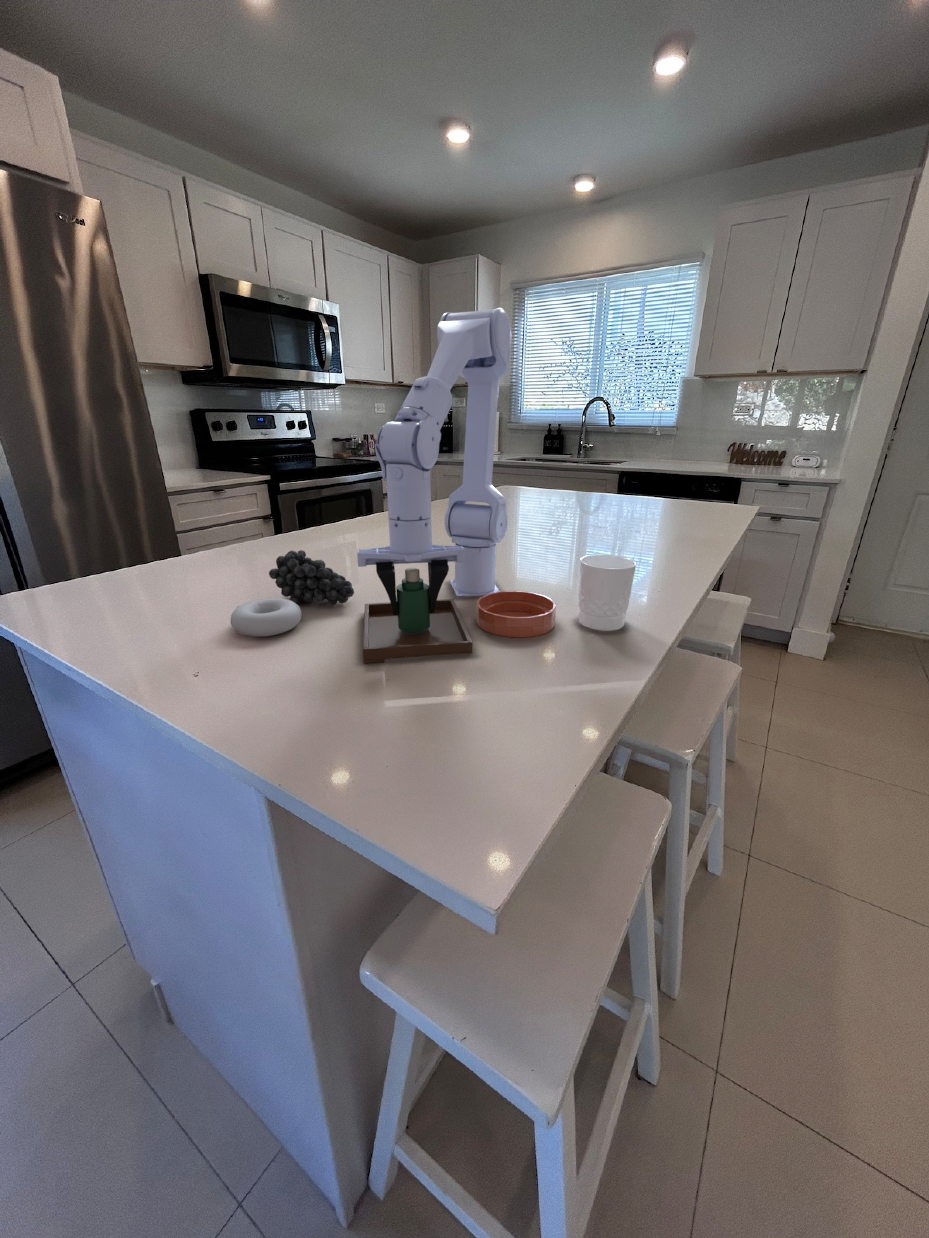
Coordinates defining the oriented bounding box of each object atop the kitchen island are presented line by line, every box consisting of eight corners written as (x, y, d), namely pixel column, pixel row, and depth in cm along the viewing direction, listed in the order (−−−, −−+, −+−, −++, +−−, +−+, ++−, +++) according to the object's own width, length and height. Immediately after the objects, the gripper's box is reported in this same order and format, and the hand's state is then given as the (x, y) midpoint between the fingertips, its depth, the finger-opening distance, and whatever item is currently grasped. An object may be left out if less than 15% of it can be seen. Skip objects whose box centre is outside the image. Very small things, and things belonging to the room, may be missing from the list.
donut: (269, 646, 70) (316, 620, 79) (265, 623, 69) (314, 599, 77) (217, 634, 74) (268, 610, 83) (212, 612, 73) (264, 590, 81)
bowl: (470, 613, 82) (470, 592, 81) (540, 609, 84) (541, 589, 83) (485, 643, 71) (485, 620, 70) (565, 637, 73) (567, 615, 72)
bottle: (397, 621, 76) (394, 565, 72) (428, 619, 76) (427, 564, 73) (399, 633, 71) (396, 575, 68) (431, 631, 72) (430, 573, 69)
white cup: (629, 637, 74) (639, 570, 70) (574, 632, 75) (580, 567, 71) (625, 617, 81) (633, 556, 77) (574, 613, 82) (580, 553, 78)
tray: (365, 615, 81) (364, 603, 80) (453, 610, 83) (453, 598, 83) (364, 663, 65) (362, 649, 65) (472, 655, 68) (472, 642, 67)
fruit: (358, 551, 82) (286, 540, 88) (329, 580, 77) (253, 566, 82) (370, 593, 88) (301, 580, 93) (344, 623, 82) (272, 607, 88)
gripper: (353, 524, 63) (361, 625, 68) (468, 521, 65) (467, 619, 70) (355, 514, 70) (362, 607, 75) (459, 511, 72) (459, 602, 77)
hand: (413, 611), depth 73 cm, fingers closed on bottle, 4 cm apart
